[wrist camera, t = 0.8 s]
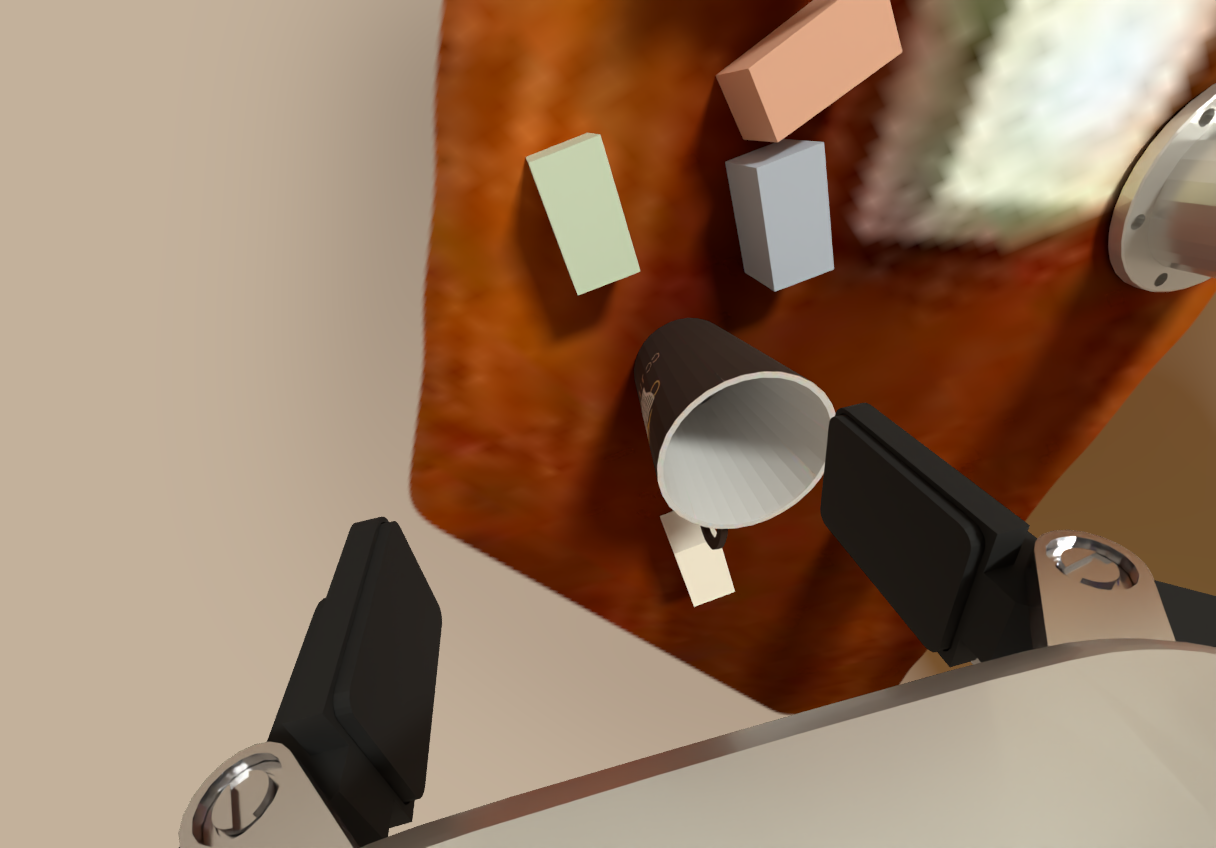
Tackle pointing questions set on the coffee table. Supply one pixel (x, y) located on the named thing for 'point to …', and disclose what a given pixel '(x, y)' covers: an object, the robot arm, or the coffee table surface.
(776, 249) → the slate brick
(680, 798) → the robot arm
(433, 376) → the coffee table surface
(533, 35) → the coffee table surface
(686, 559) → the cream brick
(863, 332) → the coffee table surface
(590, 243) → the sage brick
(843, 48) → the terracotta brick
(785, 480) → the coffee mug
